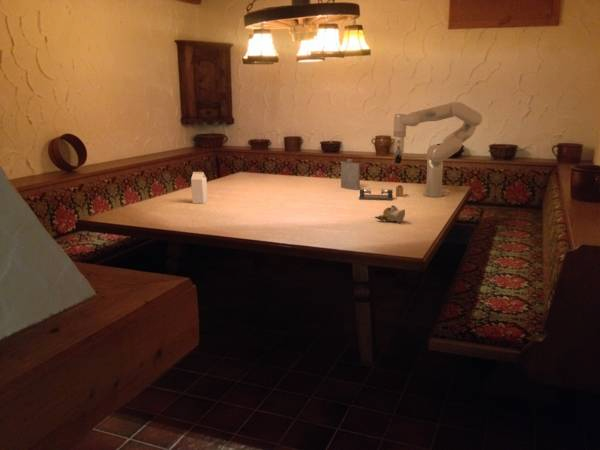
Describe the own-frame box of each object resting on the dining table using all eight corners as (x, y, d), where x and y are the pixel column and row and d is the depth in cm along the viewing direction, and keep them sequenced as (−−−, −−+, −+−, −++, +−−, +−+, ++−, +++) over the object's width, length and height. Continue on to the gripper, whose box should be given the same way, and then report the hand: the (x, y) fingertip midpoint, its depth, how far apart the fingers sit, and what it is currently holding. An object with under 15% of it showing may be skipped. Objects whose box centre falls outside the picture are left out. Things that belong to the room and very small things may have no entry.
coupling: (403, 195, 335) (403, 185, 333) (402, 196, 331) (403, 186, 329) (396, 195, 336) (396, 184, 334) (395, 196, 332) (396, 186, 330)
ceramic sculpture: (399, 208, 264) (373, 206, 273) (399, 225, 266) (374, 222, 275) (409, 204, 272) (384, 202, 281) (409, 220, 274) (384, 218, 283)
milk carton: (203, 203, 323) (201, 173, 318) (192, 203, 324) (190, 172, 320) (207, 201, 330) (205, 171, 325) (197, 201, 331) (195, 170, 326)
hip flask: (360, 189, 356) (360, 159, 351) (356, 190, 353) (356, 160, 348) (343, 186, 367) (343, 157, 362) (339, 187, 365) (339, 158, 359)
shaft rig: (392, 197, 330) (392, 187, 328) (392, 200, 321) (392, 190, 320) (360, 196, 334) (360, 187, 332) (359, 199, 326) (359, 189, 324)
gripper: (405, 135, 316) (403, 164, 320) (406, 133, 332) (405, 160, 337) (392, 135, 317) (391, 164, 322) (394, 133, 334) (393, 160, 338)
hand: (398, 162), depth 329 cm, fingers open, 9 cm apart
